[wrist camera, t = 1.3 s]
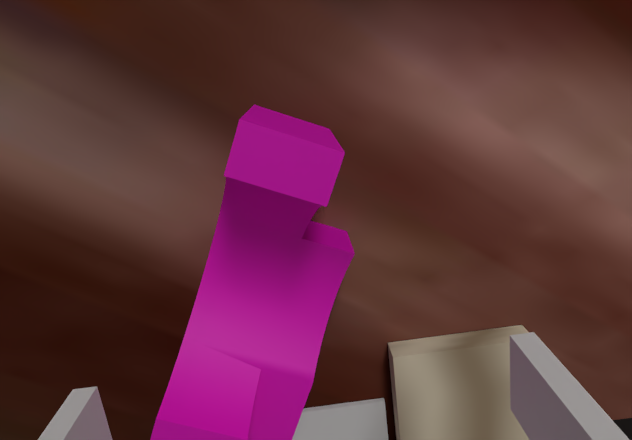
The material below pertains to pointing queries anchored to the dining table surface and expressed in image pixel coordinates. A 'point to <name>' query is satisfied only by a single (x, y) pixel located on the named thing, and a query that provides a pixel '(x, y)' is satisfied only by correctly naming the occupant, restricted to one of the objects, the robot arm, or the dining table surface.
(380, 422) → the mat
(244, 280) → the toy block
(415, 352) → the board
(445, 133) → the dining table surface
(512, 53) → the dining table surface
